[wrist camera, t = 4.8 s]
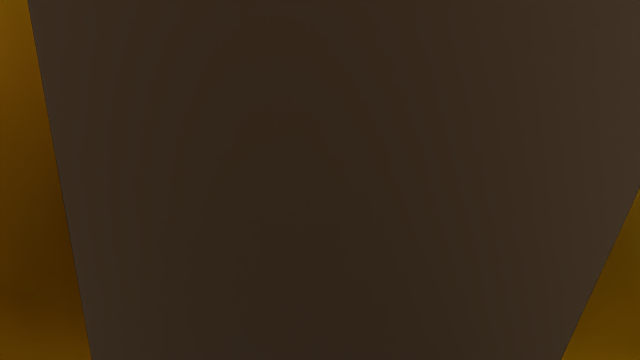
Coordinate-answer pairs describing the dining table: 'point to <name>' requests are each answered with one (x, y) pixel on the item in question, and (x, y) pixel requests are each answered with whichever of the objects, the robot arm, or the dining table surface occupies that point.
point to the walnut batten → (340, 172)
